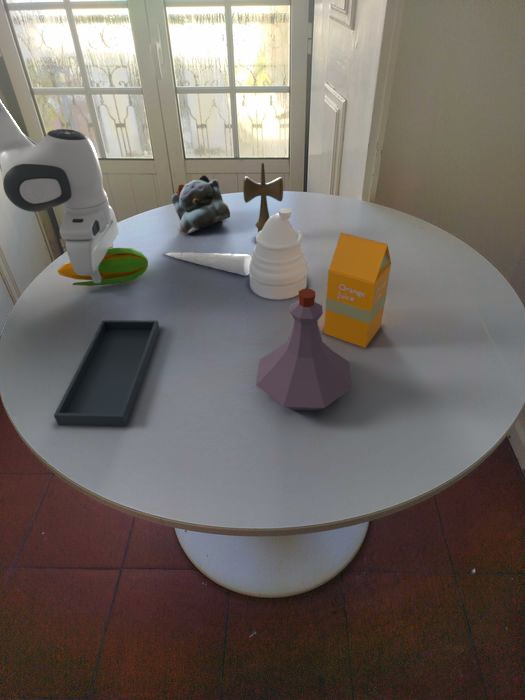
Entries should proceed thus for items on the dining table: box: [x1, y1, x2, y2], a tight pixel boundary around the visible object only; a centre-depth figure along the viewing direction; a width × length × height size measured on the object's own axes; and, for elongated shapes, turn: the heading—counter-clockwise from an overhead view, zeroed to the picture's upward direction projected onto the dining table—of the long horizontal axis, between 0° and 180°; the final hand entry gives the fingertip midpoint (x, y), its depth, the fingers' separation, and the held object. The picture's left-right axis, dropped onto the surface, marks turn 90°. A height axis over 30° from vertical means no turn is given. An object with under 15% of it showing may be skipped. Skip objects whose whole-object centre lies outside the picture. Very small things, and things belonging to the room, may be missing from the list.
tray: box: [53, 319, 161, 428], centre depth 84 cm, size 11×25×3 cm, turn 177°
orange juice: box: [323, 232, 392, 349], centre depth 86 cm, size 8×9×20 cm
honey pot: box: [248, 207, 308, 300], centre depth 100 cm, size 13×13×18 cm
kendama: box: [242, 162, 284, 242], centre depth 116 cm, size 6×10×20 cm, turn 87°
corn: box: [56, 247, 149, 287], centre depth 105 cm, size 7×8×20 cm
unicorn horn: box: [164, 251, 252, 277], centre depth 113 cm, size 5×24×5 cm, turn 61°
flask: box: [256, 288, 353, 411], centre depth 74 cm, size 16×16×20 cm
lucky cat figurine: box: [170, 174, 231, 235], centre depth 127 cm, size 15×12×14 cm
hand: (104, 271), depth 106 cm, fingers closed on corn, 7 cm apart
